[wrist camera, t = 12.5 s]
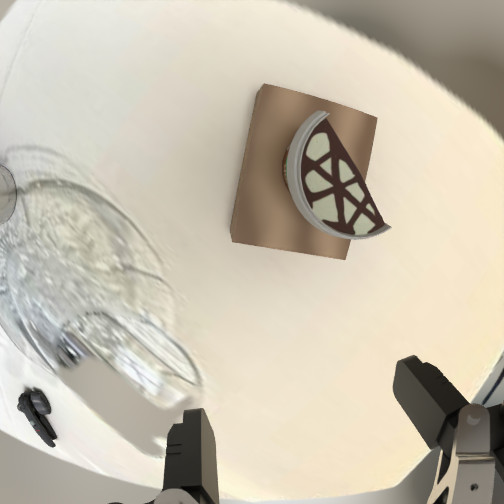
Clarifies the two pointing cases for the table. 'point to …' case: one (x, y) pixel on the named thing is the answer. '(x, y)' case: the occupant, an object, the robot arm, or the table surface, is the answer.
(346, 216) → the half-round tin
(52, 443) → the can opener
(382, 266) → the table surface
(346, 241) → the brown wooden block
